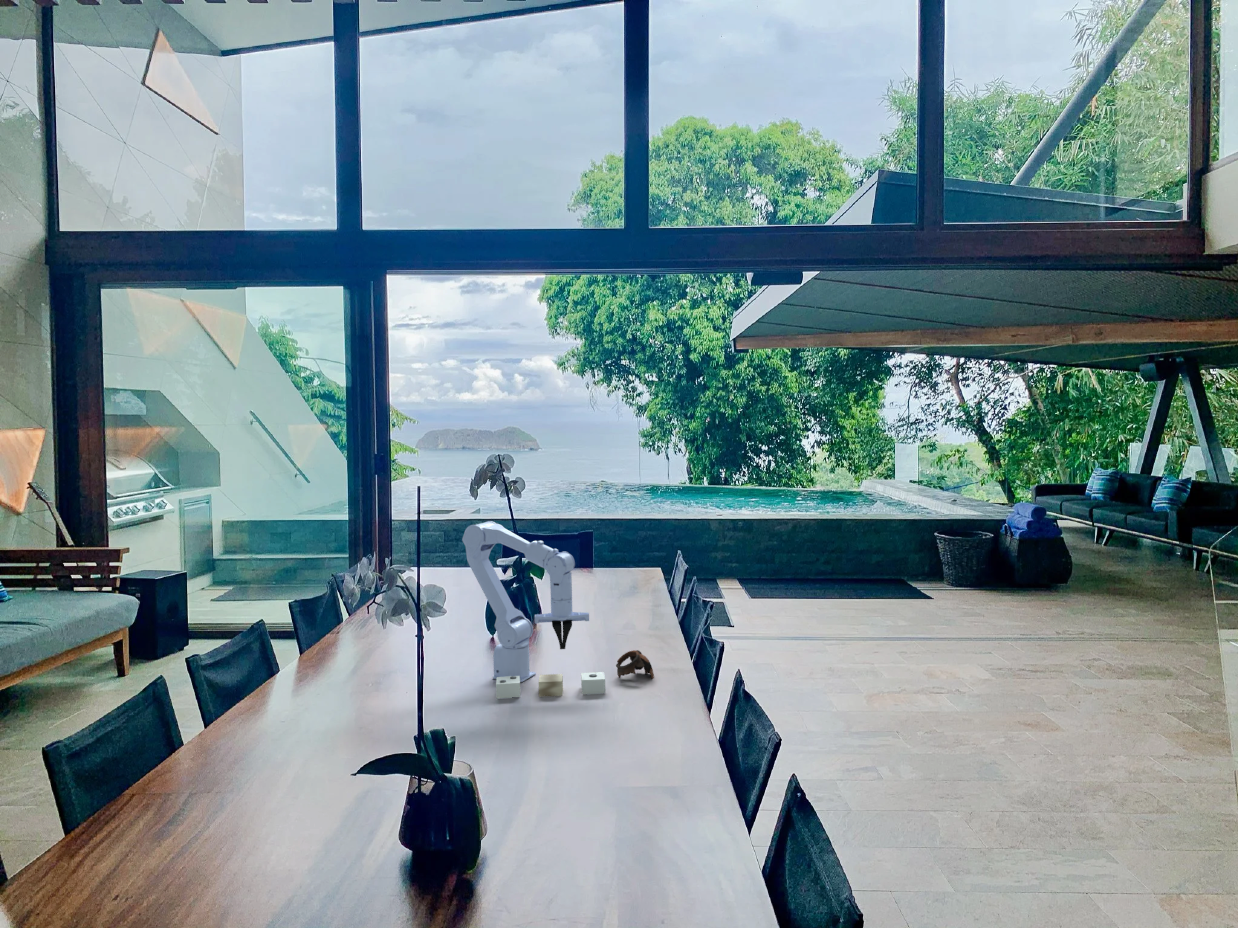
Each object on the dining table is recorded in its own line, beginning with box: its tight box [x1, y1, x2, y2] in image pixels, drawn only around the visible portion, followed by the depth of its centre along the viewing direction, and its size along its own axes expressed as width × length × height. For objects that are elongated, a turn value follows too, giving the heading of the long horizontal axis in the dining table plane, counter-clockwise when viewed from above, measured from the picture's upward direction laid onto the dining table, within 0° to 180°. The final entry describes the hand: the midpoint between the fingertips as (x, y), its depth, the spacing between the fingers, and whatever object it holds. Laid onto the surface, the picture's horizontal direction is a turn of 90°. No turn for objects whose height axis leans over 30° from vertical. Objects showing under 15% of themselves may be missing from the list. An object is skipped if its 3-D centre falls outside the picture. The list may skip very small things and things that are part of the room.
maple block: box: [538, 673, 564, 698], centre depth 222 cm, size 6×6×4 cm
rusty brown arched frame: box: [615, 649, 655, 680], centre depth 234 cm, size 12×9×8 cm
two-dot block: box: [495, 676, 521, 700], centre depth 221 cm, size 6×6×4 cm
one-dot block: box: [580, 671, 606, 695], centre depth 222 cm, size 6×6×4 cm
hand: (562, 648), depth 229 cm, fingers closed
